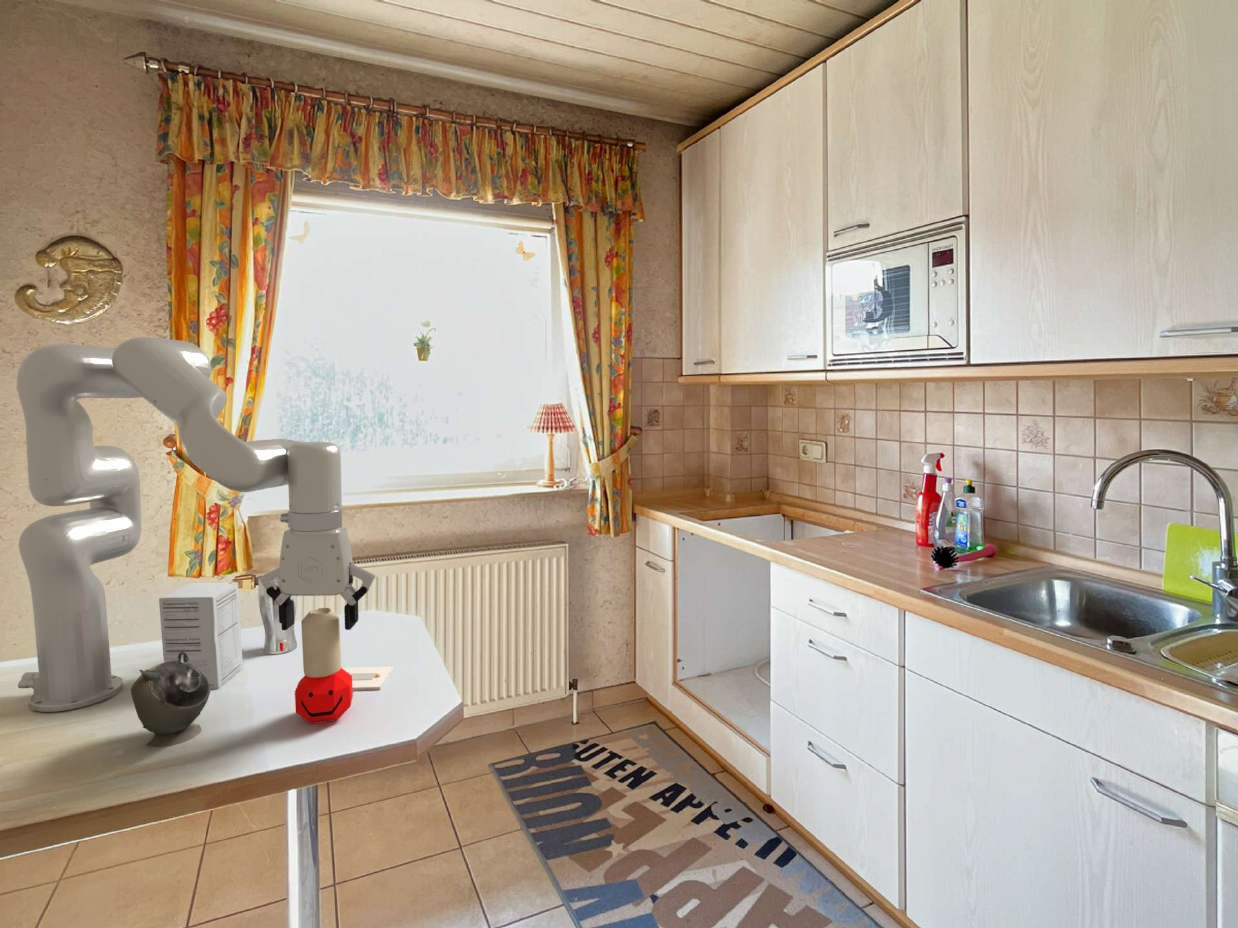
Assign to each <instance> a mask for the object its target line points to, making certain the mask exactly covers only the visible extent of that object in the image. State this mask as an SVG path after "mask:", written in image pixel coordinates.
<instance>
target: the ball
mask: <svg viewBox="0 0 1238 928" xmlns="http://www.w3.org/2000/svg"><path fill="white" fill-rule="evenodd" d="M342 668H343V667H341V669H340V670H339V671H338V672H337V673H335V674H332V675H329V676H325V677H308V676H306V675H305V674H304V676H302V678H301V679H299V681H298V683H297V686H296V688H295V690H294V700H295V701H294V702H295V703H294V704H295V706H294V707H295V713H296V714H297V716H300V717H301V718H302V719H304V720H305V721H306V722H307V723H309V724H310V725H311V724H319V723H321V724H322V723H326V722H327V723H328V722H337V721H338V720H339V719H340V718H341V717H342V716H343V715H344V714H345V713H346V712H347V711H348V710H349V709H350V707H351V705H352V702H353V697H354V694H353V693H354V690H353V688H352V676H351V675H350V674H349V673H348V672H346V671H345V670H344V669H342Z"/></svg>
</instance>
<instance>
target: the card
mask: <svg viewBox="0 0 1238 928" xmlns="http://www.w3.org/2000/svg"><path fill="white" fill-rule="evenodd" d="M341 668H342V669H344V670H345V671H346V672H348V673H349V674H350V675H351V676H352V688H353V691H372V690H373V691H375V690H376V691H377V690H382V688H383V687H384V685H385V683H386V681H387V680H388V679H389V677H390V676H391V674H392V673H393V671H394V670H395V666H394V665H393V666H363V667H362V666H359V667H357V666H356V667H355V666H353V667H352V666H350V667H341Z"/></svg>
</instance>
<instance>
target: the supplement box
mask: <svg viewBox="0 0 1238 928" xmlns="http://www.w3.org/2000/svg"><path fill="white" fill-rule="evenodd" d="M239 593H240V592H239V583H238V582H189V583H187V584H184V585H183V586H180V587H179V588H177V589H175V590H173V591H171V592H169V593H167V594H164V595H163V596H161V597H159V599H158V603H159V615H160V616H159V617H160V629H161V631H160V632H161V642H162V643H161V644H162V655H163V663H164V662H167V661H173V660H178V655H179V653H181V652H184V653H186V654H187V656H188V658H189V660H188V663H190V664H192V665H194V666H196V667H197V668H198V669H200V670H201V671H202V672H203V673H204V675H205V676H206V677H207V679H208V681H209V685H210V690H219V689H220V688H222V687H223V685H225V684H226V683H227V682H228V681H230V680H231V679H232V678H233V677H234V676H235V675H236V674H238V673H239V672H240V671H241V670H243V668H244V664H243V663H244V662H243V660H244V659H243V648H242V647H243V646H242V645H243V644H242V643H243V642H242V628H241V613H240V611H241V610H240V596H239V595H240V594H239Z"/></svg>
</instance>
